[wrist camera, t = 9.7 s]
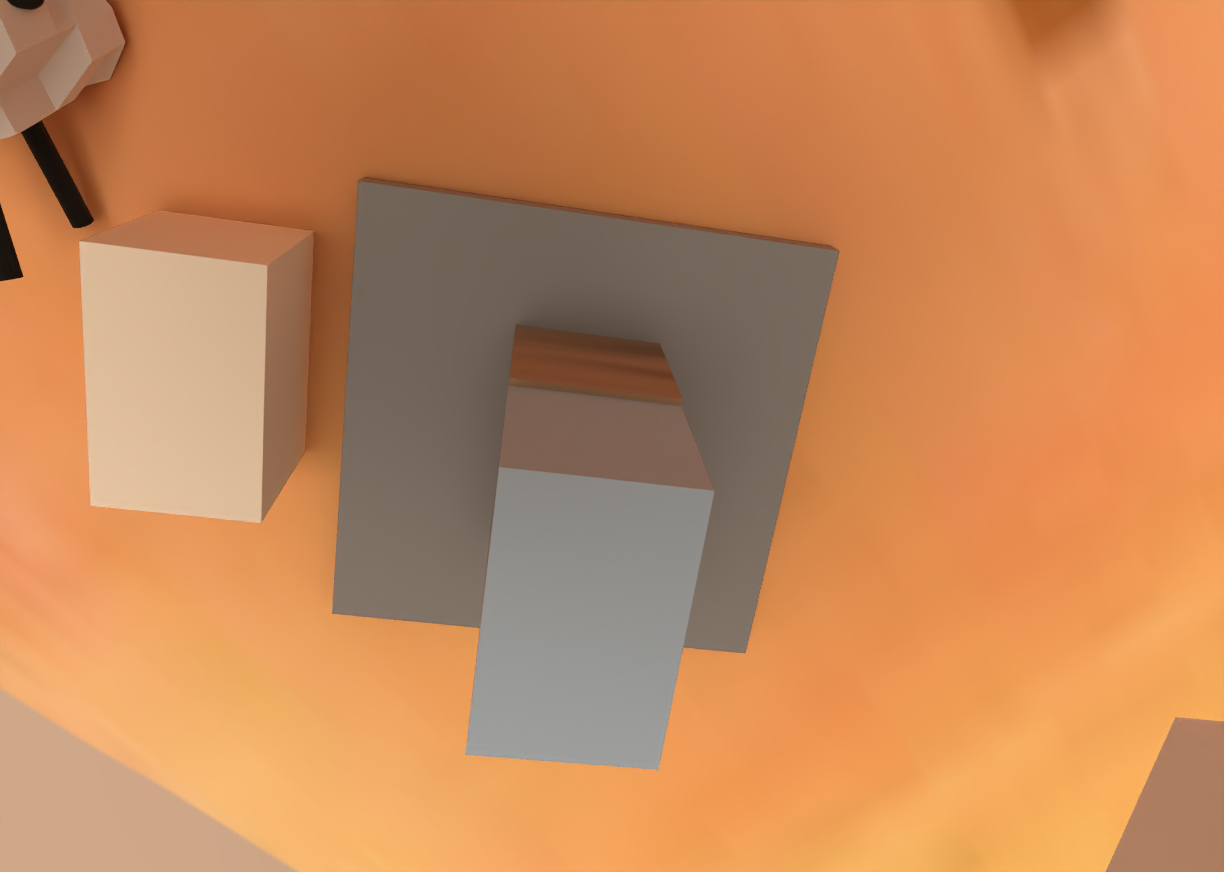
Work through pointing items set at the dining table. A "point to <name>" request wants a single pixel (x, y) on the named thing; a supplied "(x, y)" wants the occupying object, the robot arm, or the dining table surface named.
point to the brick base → (590, 367)
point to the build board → (480, 367)
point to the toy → (50, 86)
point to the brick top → (587, 579)
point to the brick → (195, 363)
